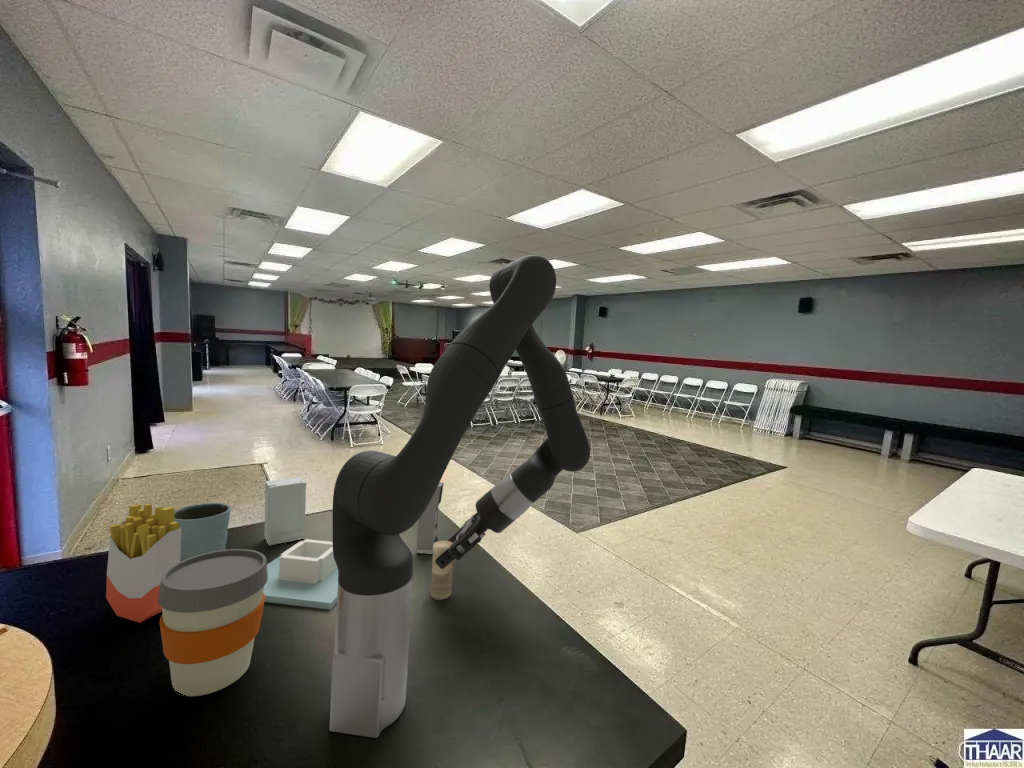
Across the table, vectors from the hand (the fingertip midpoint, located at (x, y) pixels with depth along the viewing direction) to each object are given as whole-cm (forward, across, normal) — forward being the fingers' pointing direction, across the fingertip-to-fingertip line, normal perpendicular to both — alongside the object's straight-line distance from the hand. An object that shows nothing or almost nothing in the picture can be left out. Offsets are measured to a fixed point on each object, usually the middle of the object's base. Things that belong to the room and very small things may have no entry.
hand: (444, 554), depth 82 cm
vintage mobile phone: (+12, -18, 0) cm, 21 cm away
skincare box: (+37, -16, -26) cm, 48 cm away
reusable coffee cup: (+24, +26, -13) cm, 38 cm away
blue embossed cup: (+43, 0, -31) cm, 53 cm away
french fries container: (+40, +16, -28) cm, 51 cm away
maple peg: (+6, 0, +6) cm, 8 cm away
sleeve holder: (+26, -1, -14) cm, 29 cm away
